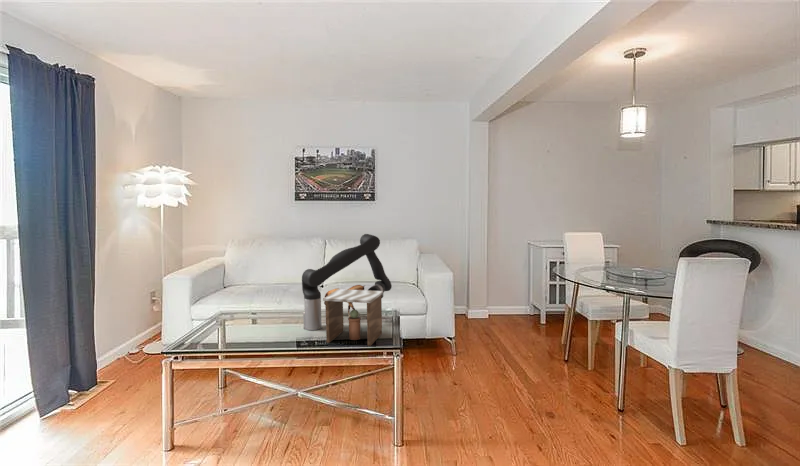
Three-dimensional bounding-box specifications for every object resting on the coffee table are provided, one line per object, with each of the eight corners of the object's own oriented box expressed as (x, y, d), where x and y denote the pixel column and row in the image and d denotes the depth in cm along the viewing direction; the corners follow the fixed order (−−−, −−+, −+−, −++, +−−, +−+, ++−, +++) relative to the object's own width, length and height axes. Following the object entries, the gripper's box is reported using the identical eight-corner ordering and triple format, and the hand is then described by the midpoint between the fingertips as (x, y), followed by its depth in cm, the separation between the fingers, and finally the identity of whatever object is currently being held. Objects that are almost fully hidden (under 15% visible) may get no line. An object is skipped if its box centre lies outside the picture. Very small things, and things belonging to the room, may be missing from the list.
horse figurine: (367, 318, 288) (366, 284, 286) (359, 321, 281) (359, 287, 279) (326, 312, 303) (325, 280, 301) (318, 315, 296) (317, 282, 294)
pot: (346, 339, 248) (346, 311, 247) (351, 335, 255) (350, 307, 253) (358, 340, 247) (358, 311, 245) (363, 336, 253) (362, 308, 251)
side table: (324, 343, 243) (323, 298, 241) (340, 330, 264) (339, 289, 262) (371, 346, 237) (370, 300, 235) (383, 333, 258) (383, 291, 256)
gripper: (363, 285, 286) (354, 291, 270) (386, 285, 283) (378, 292, 267) (364, 297, 287) (355, 304, 271) (387, 298, 283) (379, 305, 268)
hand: (366, 298), depth 269 cm, fingers open, 8 cm apart
